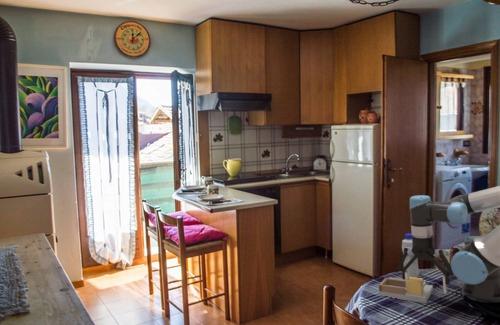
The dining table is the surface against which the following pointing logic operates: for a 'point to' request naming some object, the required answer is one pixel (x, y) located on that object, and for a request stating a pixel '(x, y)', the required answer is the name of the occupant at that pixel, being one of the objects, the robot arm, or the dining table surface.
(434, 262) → the robot arm
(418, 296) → the cubby deck
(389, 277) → the crook tool
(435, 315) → the dining table surface
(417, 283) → the block
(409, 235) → the bottle
